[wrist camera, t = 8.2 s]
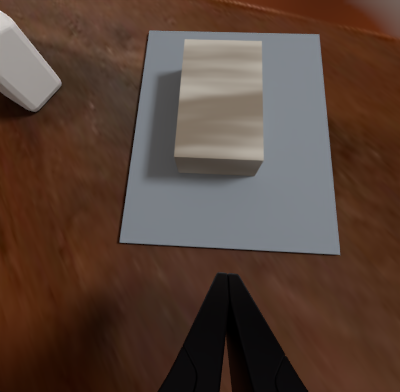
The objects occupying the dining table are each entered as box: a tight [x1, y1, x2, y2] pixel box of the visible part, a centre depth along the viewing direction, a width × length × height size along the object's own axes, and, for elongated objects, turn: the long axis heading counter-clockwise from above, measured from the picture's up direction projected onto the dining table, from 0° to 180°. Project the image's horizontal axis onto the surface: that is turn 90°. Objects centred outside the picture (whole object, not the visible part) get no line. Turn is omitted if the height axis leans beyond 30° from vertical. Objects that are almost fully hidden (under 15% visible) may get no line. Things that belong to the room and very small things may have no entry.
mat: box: [120, 31, 340, 255], centre depth 20 cm, size 20×16×1 cm
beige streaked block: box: [174, 39, 264, 176], centre depth 19 cm, size 3×6×10 cm
